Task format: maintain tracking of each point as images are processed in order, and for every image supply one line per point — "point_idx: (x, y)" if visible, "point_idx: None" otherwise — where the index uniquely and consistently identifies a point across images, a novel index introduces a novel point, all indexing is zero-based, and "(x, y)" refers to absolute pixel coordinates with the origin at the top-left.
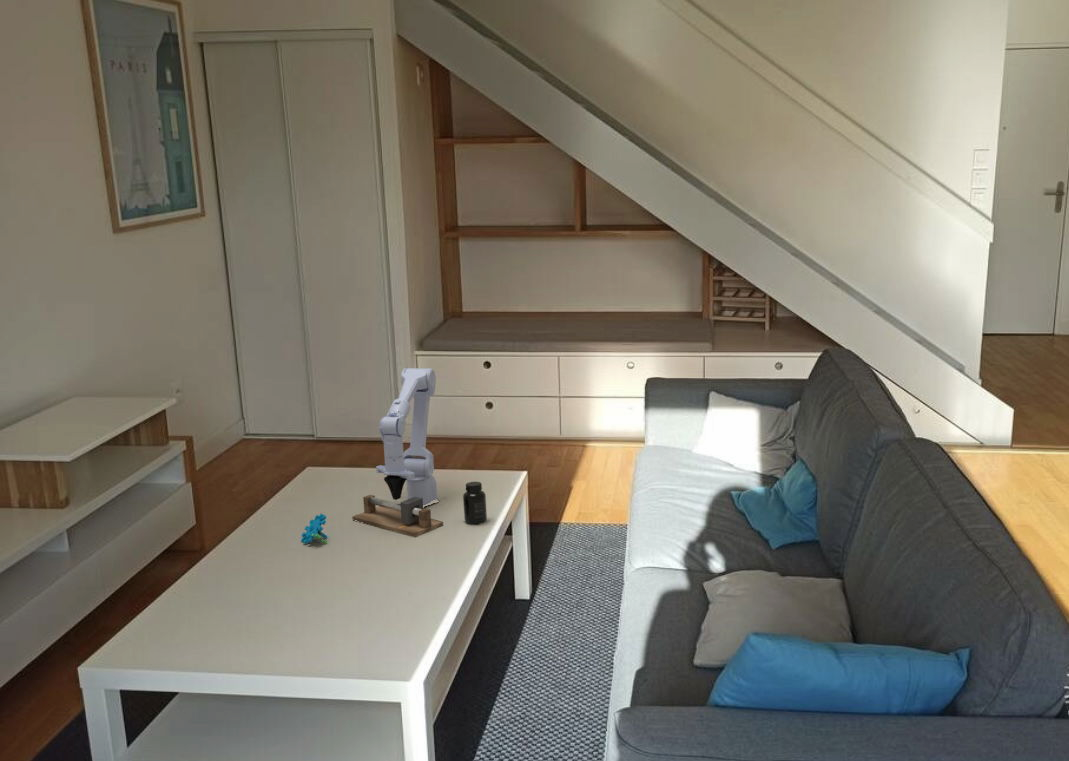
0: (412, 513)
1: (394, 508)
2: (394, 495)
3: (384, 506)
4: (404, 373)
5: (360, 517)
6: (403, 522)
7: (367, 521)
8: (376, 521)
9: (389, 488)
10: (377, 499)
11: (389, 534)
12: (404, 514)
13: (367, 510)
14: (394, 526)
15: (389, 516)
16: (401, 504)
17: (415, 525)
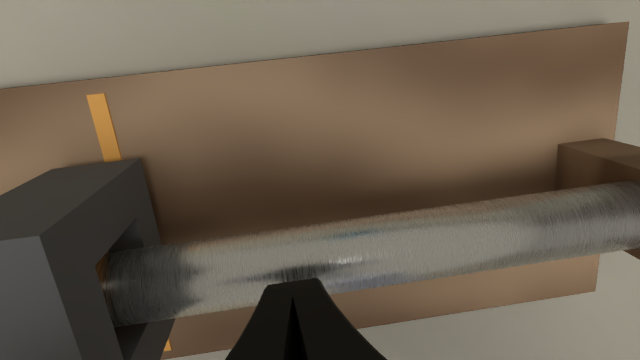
0: None
1: (292, 228)
2: (270, 308)
3: (429, 208)
4: None
5: (557, 50)
6: (115, 163)
7: (455, 40)
8: (382, 76)
9: (369, 351)
10: (562, 225)
11: (122, 5)
12: (54, 189)
13: (587, 148)
14: (167, 97)
15: (387, 208)
16: (30, 226)
17: None
